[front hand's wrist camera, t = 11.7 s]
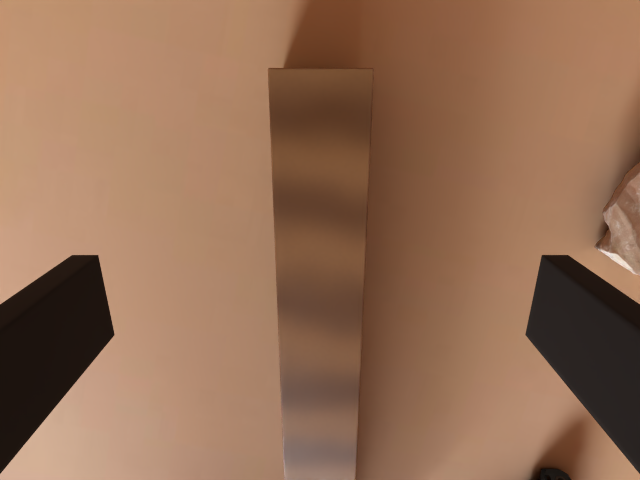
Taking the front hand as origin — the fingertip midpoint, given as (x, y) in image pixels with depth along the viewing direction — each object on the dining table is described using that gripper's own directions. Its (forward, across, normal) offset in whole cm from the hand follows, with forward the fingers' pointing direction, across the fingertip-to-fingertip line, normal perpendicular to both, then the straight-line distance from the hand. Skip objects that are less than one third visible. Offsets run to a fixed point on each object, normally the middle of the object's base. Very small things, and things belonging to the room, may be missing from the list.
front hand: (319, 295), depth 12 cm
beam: (+20, 0, -18) cm, 27 cm away
